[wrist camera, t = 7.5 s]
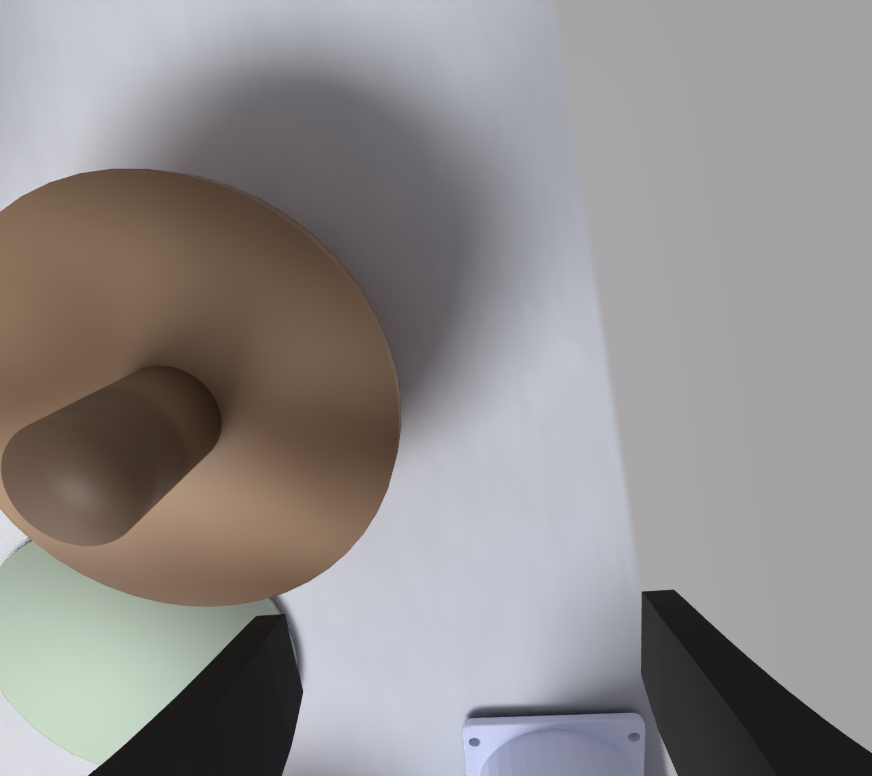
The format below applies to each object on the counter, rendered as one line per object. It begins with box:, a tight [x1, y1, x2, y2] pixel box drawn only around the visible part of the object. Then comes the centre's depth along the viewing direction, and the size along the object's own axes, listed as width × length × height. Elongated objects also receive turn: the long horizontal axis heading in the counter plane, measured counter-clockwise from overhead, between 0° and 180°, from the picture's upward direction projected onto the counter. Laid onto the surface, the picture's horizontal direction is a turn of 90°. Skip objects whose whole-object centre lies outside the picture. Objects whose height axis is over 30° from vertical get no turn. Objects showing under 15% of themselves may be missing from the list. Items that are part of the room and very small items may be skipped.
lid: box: [0, 169, 401, 607], centre depth 14 cm, size 13×13×5 cm
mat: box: [0, 541, 298, 766], centre depth 24 cm, size 14×14×1 cm
